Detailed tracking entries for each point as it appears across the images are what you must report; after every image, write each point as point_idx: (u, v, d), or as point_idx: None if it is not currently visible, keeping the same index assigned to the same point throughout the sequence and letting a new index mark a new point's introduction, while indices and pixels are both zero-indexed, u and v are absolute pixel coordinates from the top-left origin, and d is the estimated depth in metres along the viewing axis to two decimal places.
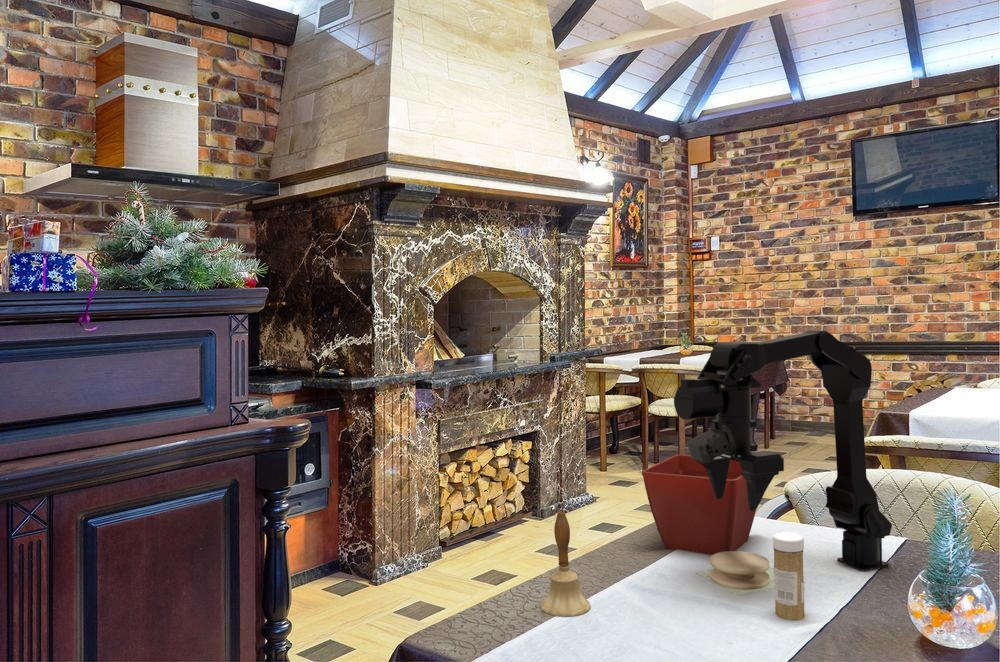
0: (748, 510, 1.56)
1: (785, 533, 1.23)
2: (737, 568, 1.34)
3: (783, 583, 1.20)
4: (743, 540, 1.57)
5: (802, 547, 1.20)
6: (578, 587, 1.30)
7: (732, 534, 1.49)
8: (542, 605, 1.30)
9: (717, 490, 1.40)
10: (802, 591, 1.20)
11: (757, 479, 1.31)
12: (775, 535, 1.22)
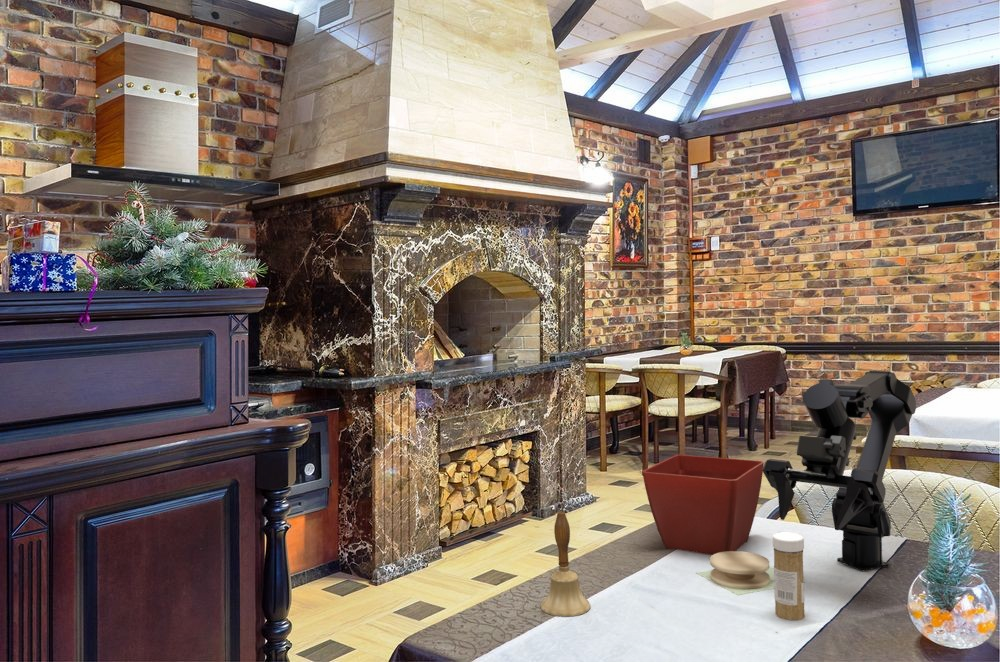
0: (748, 510, 1.56)
1: (785, 533, 1.23)
2: (737, 568, 1.34)
3: (783, 583, 1.20)
4: (743, 540, 1.57)
5: (802, 547, 1.20)
6: (578, 587, 1.30)
7: (732, 534, 1.49)
8: (542, 605, 1.30)
9: (784, 509, 1.31)
10: (802, 591, 1.20)
11: (853, 500, 1.27)
12: (775, 535, 1.22)
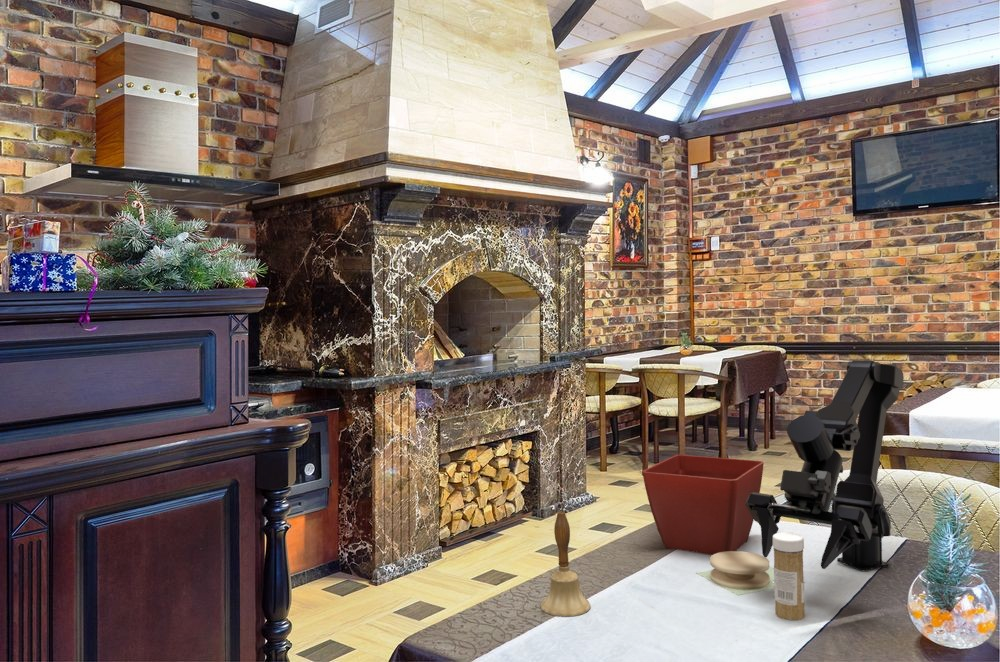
0: (748, 510, 1.56)
1: (785, 533, 1.23)
2: (737, 568, 1.34)
3: (783, 583, 1.20)
4: (743, 540, 1.57)
5: (802, 547, 1.20)
6: (578, 587, 1.30)
7: (732, 534, 1.49)
8: (542, 605, 1.30)
9: (767, 546, 1.26)
10: (802, 591, 1.20)
11: None
12: (775, 535, 1.22)
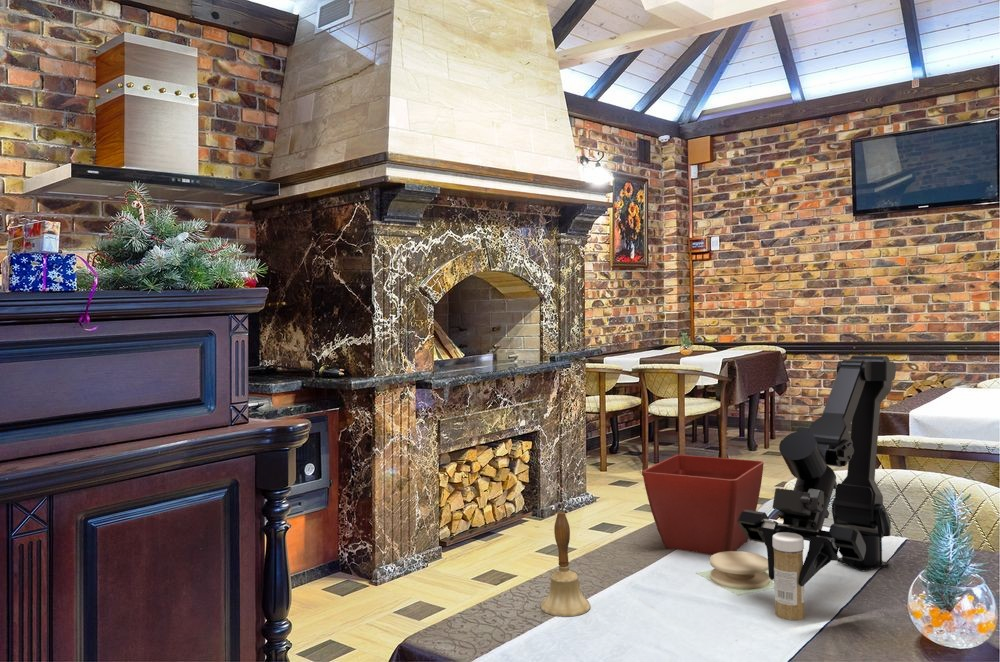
0: None
1: (785, 533, 1.23)
2: (737, 568, 1.34)
3: (783, 583, 1.20)
4: (743, 540, 1.57)
5: (802, 547, 1.20)
6: (578, 587, 1.30)
7: (732, 534, 1.49)
8: (542, 605, 1.30)
9: (773, 568, 1.23)
10: (802, 591, 1.20)
11: None
12: (775, 535, 1.22)
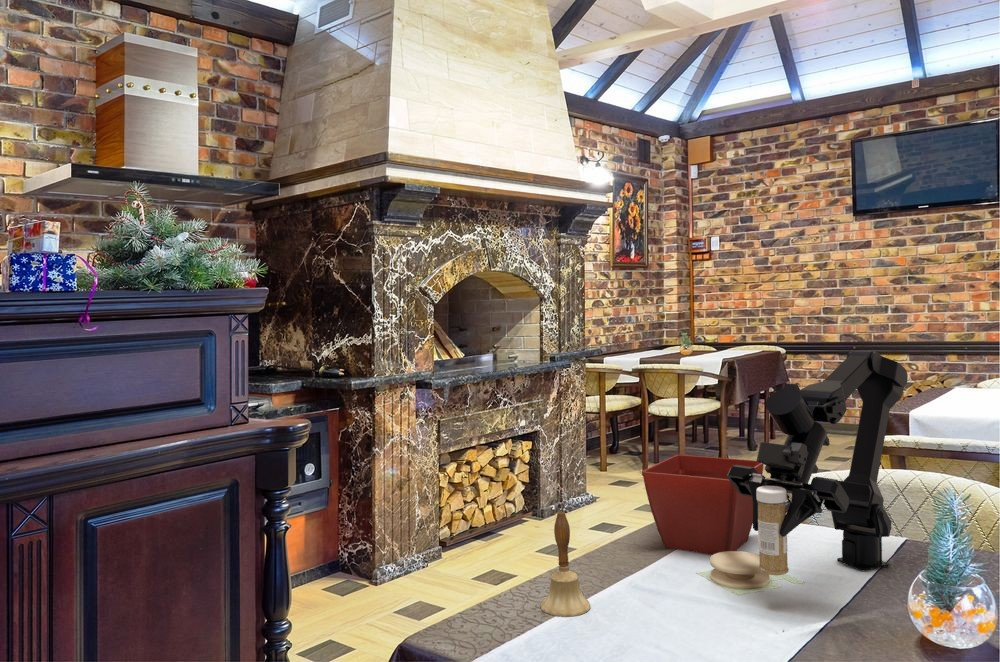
0: (748, 510, 1.56)
1: (769, 486, 1.26)
2: (737, 568, 1.34)
3: (765, 534, 1.24)
4: (743, 540, 1.57)
5: (784, 499, 1.23)
6: (578, 587, 1.30)
7: (732, 534, 1.49)
8: (542, 605, 1.30)
9: None
10: (784, 542, 1.23)
11: (800, 507, 1.24)
12: (759, 488, 1.26)
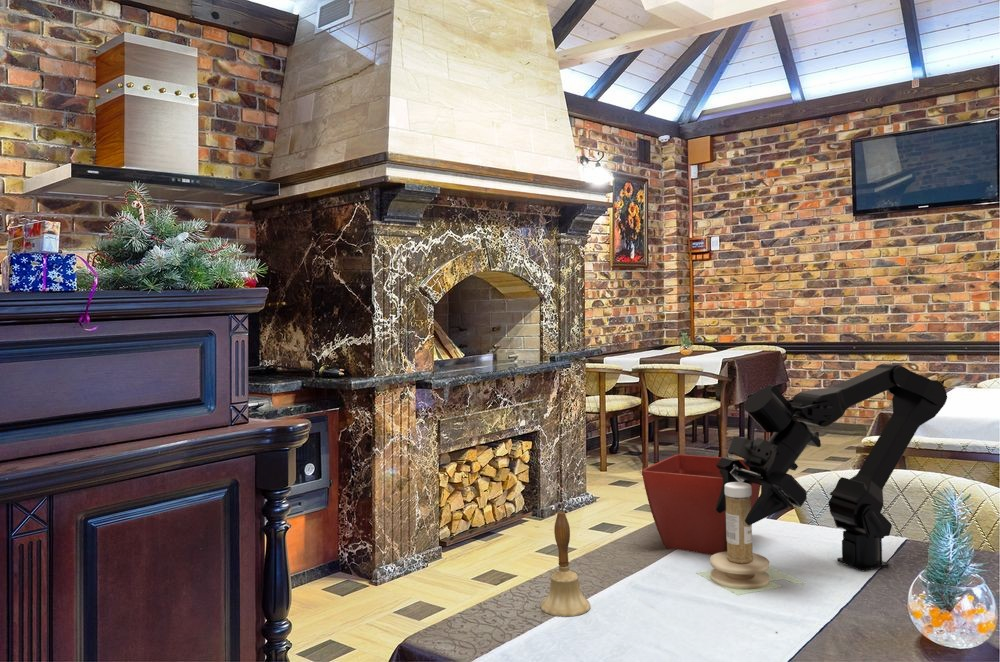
0: None
1: (739, 482, 1.39)
2: (737, 568, 1.34)
3: (728, 524, 1.37)
4: None
5: (745, 494, 1.35)
6: (578, 587, 1.30)
7: None
8: (542, 605, 1.30)
9: (721, 503, 1.41)
10: (745, 533, 1.36)
11: (770, 500, 1.33)
12: (728, 483, 1.39)
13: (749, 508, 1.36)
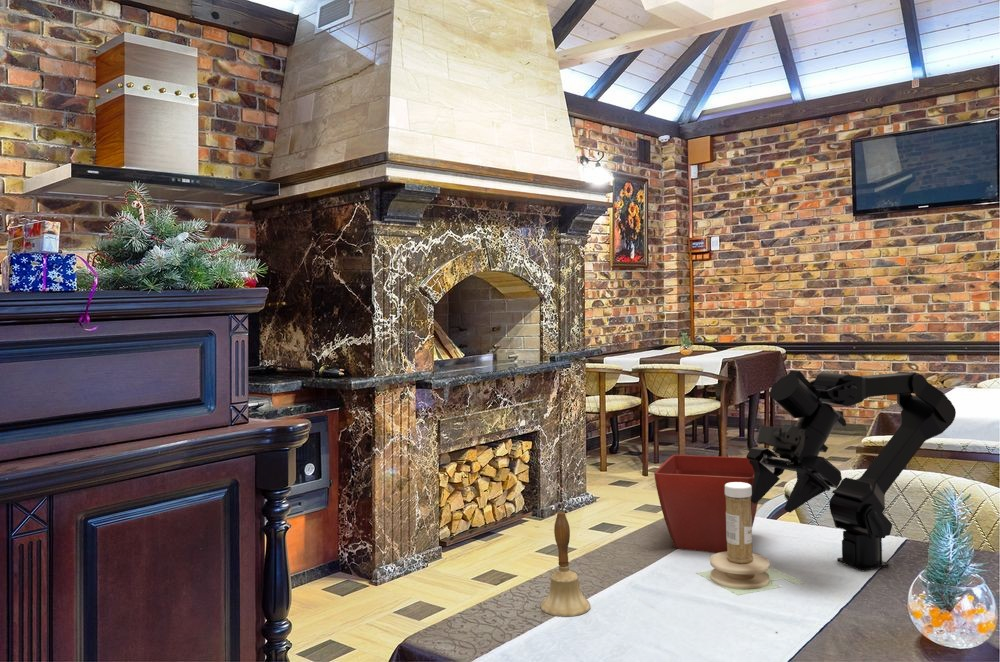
0: (754, 507, 1.58)
1: (739, 482, 1.39)
2: (737, 568, 1.34)
3: (728, 524, 1.37)
4: None
5: (745, 495, 1.35)
6: (578, 587, 1.30)
7: None
8: (542, 605, 1.30)
9: (755, 493, 1.42)
10: (745, 534, 1.36)
11: (807, 485, 1.33)
12: (728, 483, 1.39)
13: (749, 508, 1.36)
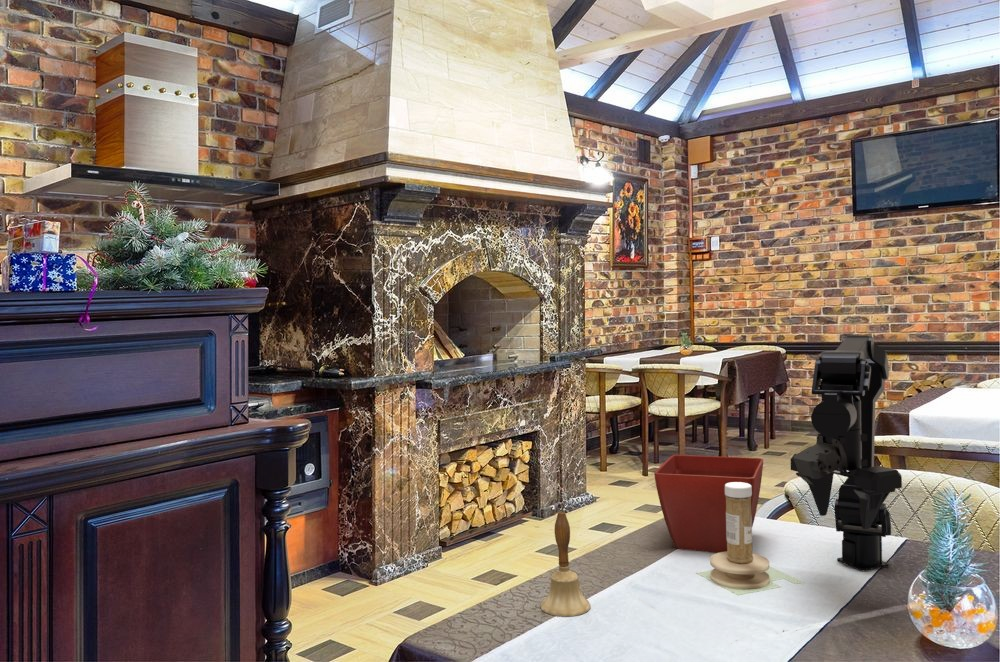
0: (754, 507, 1.58)
1: (739, 482, 1.39)
2: (737, 568, 1.34)
3: (728, 524, 1.37)
4: None
5: (745, 495, 1.35)
6: (578, 587, 1.30)
7: None
8: (542, 605, 1.30)
9: (821, 506, 1.33)
10: (745, 534, 1.36)
11: (871, 496, 1.24)
12: (728, 483, 1.39)
13: (749, 508, 1.36)
